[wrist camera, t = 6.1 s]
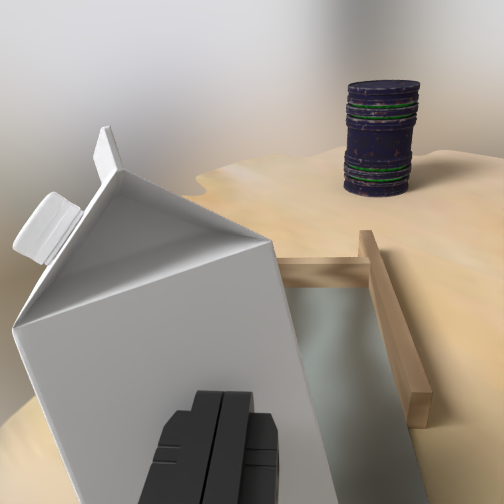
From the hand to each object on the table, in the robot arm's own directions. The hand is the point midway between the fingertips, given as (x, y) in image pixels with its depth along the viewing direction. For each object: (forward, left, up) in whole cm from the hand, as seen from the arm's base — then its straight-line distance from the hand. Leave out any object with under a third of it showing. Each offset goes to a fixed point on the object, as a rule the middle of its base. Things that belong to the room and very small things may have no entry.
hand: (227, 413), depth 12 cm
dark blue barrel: (-14, -56, -13) cm, 59 cm away
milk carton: (0, 0, -12) cm, 12 cm away
